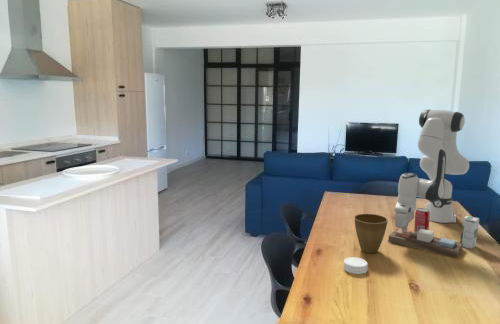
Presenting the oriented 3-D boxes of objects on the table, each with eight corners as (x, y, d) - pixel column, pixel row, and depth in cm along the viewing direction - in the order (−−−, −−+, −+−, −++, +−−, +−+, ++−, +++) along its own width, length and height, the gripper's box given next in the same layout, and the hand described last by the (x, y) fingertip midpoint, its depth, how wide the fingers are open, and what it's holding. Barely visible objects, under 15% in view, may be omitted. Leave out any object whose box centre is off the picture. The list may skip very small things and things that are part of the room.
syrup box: (463, 242, 190) (466, 215, 187) (476, 246, 185) (479, 218, 183) (459, 246, 186) (462, 217, 183) (472, 249, 181) (476, 220, 179)
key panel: (396, 234, 201) (396, 229, 200) (462, 249, 182) (462, 243, 181) (388, 241, 191) (388, 235, 190) (456, 257, 172) (457, 251, 171)
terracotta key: (399, 236, 196) (399, 228, 196) (411, 238, 193) (411, 231, 192) (395, 239, 192) (396, 232, 191) (407, 242, 188) (408, 234, 187)
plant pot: (385, 246, 184) (387, 215, 181) (385, 258, 170) (387, 224, 168) (353, 242, 189) (355, 211, 186) (351, 254, 175) (353, 221, 172)
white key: (420, 236, 190) (420, 228, 189) (432, 239, 186) (433, 231, 185) (416, 239, 185) (417, 232, 185) (429, 242, 182) (430, 234, 181)
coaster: (363, 277, 153) (364, 268, 153) (339, 271, 158) (340, 263, 158) (370, 267, 162) (370, 260, 161) (347, 262, 167) (347, 254, 166)
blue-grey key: (441, 245, 184) (442, 237, 183) (455, 248, 180) (455, 240, 180) (438, 249, 179) (439, 241, 179) (452, 252, 176) (453, 244, 175)
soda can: (429, 235, 199) (432, 211, 197) (415, 234, 201) (417, 211, 198) (426, 231, 206) (428, 208, 204) (412, 230, 208) (414, 207, 205)
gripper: (405, 200, 199) (403, 225, 201) (393, 208, 183) (391, 235, 186) (418, 202, 195) (416, 227, 198) (406, 211, 179) (404, 238, 182)
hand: (404, 231), depth 191 cm, fingers closed, pressing on terracotta key
